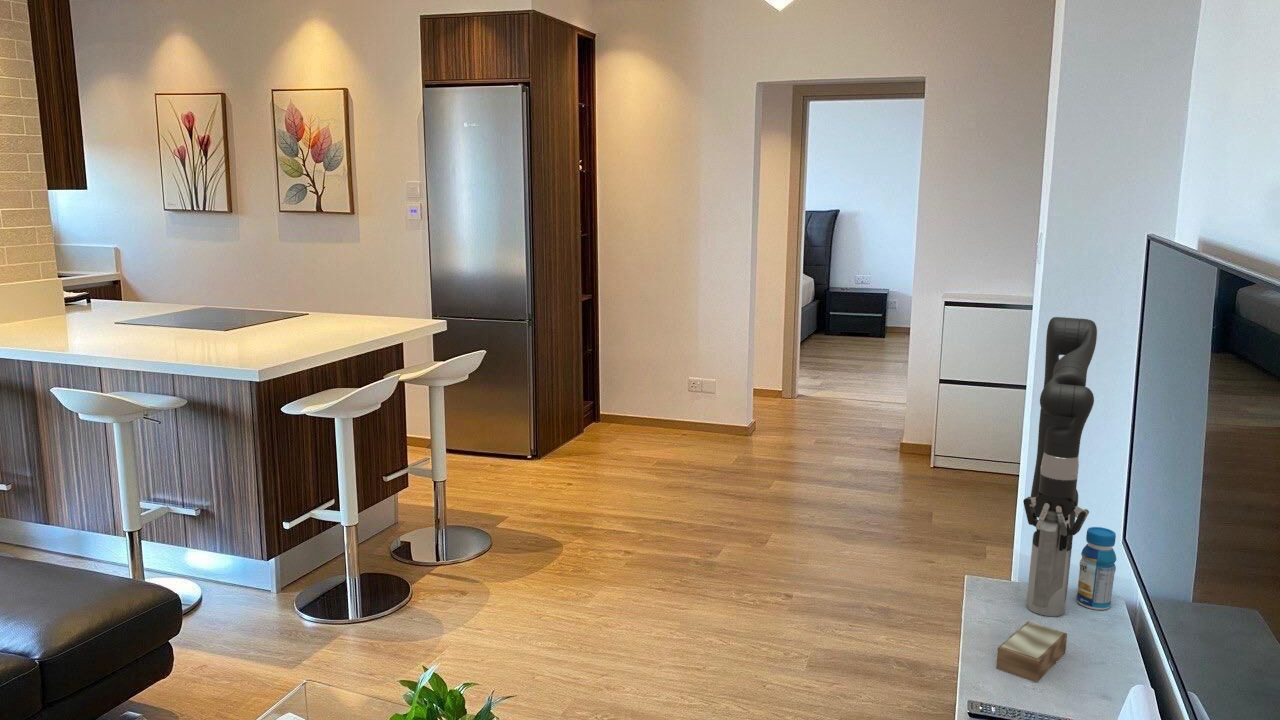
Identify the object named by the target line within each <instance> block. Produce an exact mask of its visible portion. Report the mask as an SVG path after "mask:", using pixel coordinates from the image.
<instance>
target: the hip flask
mask: <svg viewBox="0 0 1280 720" xmlns="http://www.w3.org/2000/svg"><path fill="white" fill-rule="evenodd" d="M1056 516H1058V515H1057V512H1054V511H1050V510H1049V511H1048V512H1047V516H1046V520H1044V521H1043V522H1042V524H1041V527H1040V537H1039V547H1038V556H1037V566H1036V576H1035V586H1034V595H1033V604H1034V605H1035V606H1037V607H1042V608H1045V607H1048V604H1049V600H1050V598H1051V597H1052V596H1053V594H1054V593H1055V592H1057V591H1058V590H1059V589H1061V588H1062V587H1063V579H1064V569H1065V560H1066V551H1067V548H1066V549H1065V550H1064V551H1059V544H1060V535H1061V534H1062V533H1061V528H1060V525H1059V521H1058V520H1057V519H1058V518H1056ZM1069 519H1070V514H1069Z"/></svg>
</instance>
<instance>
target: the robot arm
mask: <svg viewBox="0 0 1280 720" xmlns="http://www.w3.org/2000/svg"><path fill="white" fill-rule="evenodd" d="M1047 324H1048V325H1047V329H1046V330H1047V331H1046V339H1045V360H1044V362H1045V363H1044V381H1043V382H1044V383H1043V389H1042V391H1041V394H1040V397H1039V405H1040V412H1039V424H1038V435H1037V436H1038V437H1037V449H1036V450H1037V451H1036V458H1035V459H1036V460H1035V467H1034V473H1033V478H1032V480H1033V481H1032V485H1031V491H1030V496H1027V497H1025V498H1023V500H1022V502H1023V506H1024V510H1025V511H1024V512H1025V515H1026V519H1027V523H1028V525H1029V526H1033V527H1035V529H1036V530H1035V531H1033V535H1032V541H1031V542H1032V543H1031V551H1030V552H1031V555H1030V565H1029V574H1028V575H1029V576H1028V583H1027V592H1026V600H1025V601H1026V604H1025V606H1026V608H1027V609H1028V610H1030V611H1031V612H1032V613H1035V614H1038V615H1042V616H1046V617H1059V616H1060V617H1061V616H1063V615H1065V612H1066V605H1067V596H1068V587H1069V578H1070V577H1069V575H1070V567H1071V560H1072V559H1071V557H1072V548H1073V537H1074V536H1075V535H1077V534H1078V533H1079V532H1080V531H1081V529H1082V527H1083V525H1084V523H1085V521H1086V519H1087V517H1088V516H1089V513H1090V511H1089V510H1088V509H1087V508H1084V509H1083V508H1081V507H1080V506H1078V505H1079V492H1078V489H1077V485H1078V477H1079V476H1078V474H1079V467H1080V466H1079V465H1080V464H1079V463H1080V462H1079V455H1080V445H1081V439H1082V433H1083V431H1084V427H1085V425H1086V422H1087V420H1088V419H1089V416H1090V413H1091V412H1092V410H1093V407H1094V403H1095V396H1094V393H1093V392H1092V390H1091V389H1090V388H1089V387H1086V386H1087V376H1088V375H1087V374H1088V369H1089V366H1090V364H1091V361H1092V359H1093V356H1094V353H1095V350H1096V345H1097V340H1098V339H1097V338H1098V327H1097V324H1096V322H1095V321H1093V320H1091V319H1088V318H1078V317H1077V318H1075V317H1065V316H1064V317H1063V316H1061V317H1060V316H1053V317H1051V319H1050V320H1049V322H1048V323H1047ZM1060 356H1062V357H1060ZM1049 510H1050V511H1054V512H1057V515H1058V516H1056V518H1058V519H1057V520H1058V521H1059V525H1060V528H1061V533H1062V534H1061V535H1060V544H1059V551H1064V550H1065V549H1066V548H1067V551H1066V560H1065V569H1064V579H1063V587H1062V588H1061V589H1059V590H1058V591H1057V592H1055V593H1054V594H1053V596H1052V597H1051V598H1050V600H1049V604H1048V607H1045V608H1042V607H1037V606H1035V605H1034V604H1033V595H1034V586H1035V576H1036V566H1037V556H1038V547H1039V537H1040V527H1041V524H1042V522H1043V521H1044V520H1046V516H1047V512H1048V511H1049ZM1069 514H1070V519H1069Z"/></svg>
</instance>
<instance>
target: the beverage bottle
mask: <svg viewBox="0 0 1280 720" xmlns="http://www.w3.org/2000/svg"><path fill="white" fill-rule="evenodd" d="M1116 535H1117V534H1116V532H1115V531H1113V530H1112V529H1109V528H1106V527H1101V526H1091V527H1088V528H1087V530H1086V537H1085V541H1086V545H1084V547H1083V549H1082V551H1081V553H1080V555H1081V559H1080V560H1079V572H1078V573H1079V574H1078V581H1077V583H1078V584H1077V591H1076V602H1077V603H1078V604H1079V605H1081V606H1083V607H1085V608H1086V609H1087V608H1088V609H1091V610H1097V611H1098V610H1099V611H1102V610H1104V611H1105V610H1108V609H1110V608H1111V605H1112V596H1113V588H1114V582H1115V579H1114V578H1115V573H1116V571H1117V570H1116V569H1117V567H1116V562H1117V554H1116V552H1115V550H1114V548H1113V547H1114V546H1115V544H1116V539H1117V538H1116V537H1117V536H1116Z"/></svg>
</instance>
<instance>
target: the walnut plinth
mask: <svg viewBox="0 0 1280 720" xmlns="http://www.w3.org/2000/svg"><path fill="white" fill-rule="evenodd" d="M1067 638H1068V633H1066V632H1064V631H1061V630H1058V629H1055V628H1053V627H1052V628H1051V627H1049V626H1045V625H1042V624H1039V623H1036V622H1033V621H1030V620H1029V621H1028V620H1027V622H1026V623H1025V624H1023V625H1022V626H1021V627H1020V628H1018V629H1017V630H1016V631H1015V632H1014V633H1013V634H1012V635H1011V636H1009V637H1008V638H1007V639H1006V640H1005V641H1004V642H1003V643H1002V644H1000V645H999V646H998V647H997V655H996V665H995V666H996V667H995V668H996V669H998V670H1000V671H1003V672H1006V673H1009V674H1012V675H1015V676H1018V677H1020V678H1024V679H1026V680H1029V681H1031V682H1035V683H1038V682H1039V680H1041V679H1042V678H1043V677H1044V676H1045V675H1046V674H1047V673H1048V672H1049V671H1050V670H1051V669H1052V667H1054V665H1056V664H1057V662H1059V660H1060V659H1062V657H1064V655H1066V649H1067ZM1056 661H1057V662H1056ZM1049 669H1050V670H1049ZM1048 670H1049V671H1048ZM1047 671H1048V672H1047ZM1046 672H1047V673H1046ZM1045 673H1046V674H1045ZM1044 674H1045V675H1044Z"/></svg>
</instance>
